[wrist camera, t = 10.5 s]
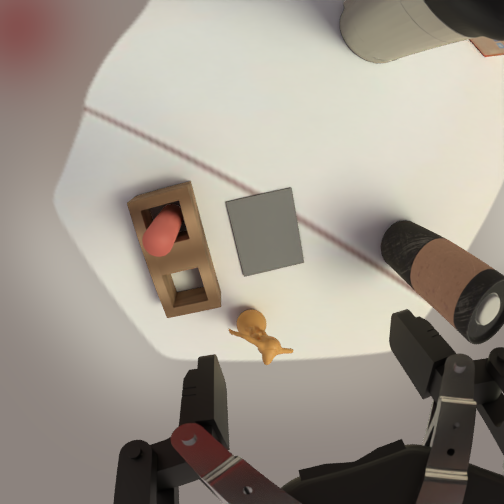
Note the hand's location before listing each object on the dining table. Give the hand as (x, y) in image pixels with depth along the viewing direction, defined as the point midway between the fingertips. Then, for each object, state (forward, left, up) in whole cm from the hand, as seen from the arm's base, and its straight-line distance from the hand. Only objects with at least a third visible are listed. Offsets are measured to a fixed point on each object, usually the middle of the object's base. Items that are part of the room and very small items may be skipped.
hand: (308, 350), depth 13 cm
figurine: (+14, -3, -27) cm, 30 cm away
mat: (+4, +1, -27) cm, 27 cm away
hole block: (+3, -10, -27) cm, 29 cm away
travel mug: (+10, +20, -27) cm, 35 cm away
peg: (-1, -10, -27) cm, 28 cm away
